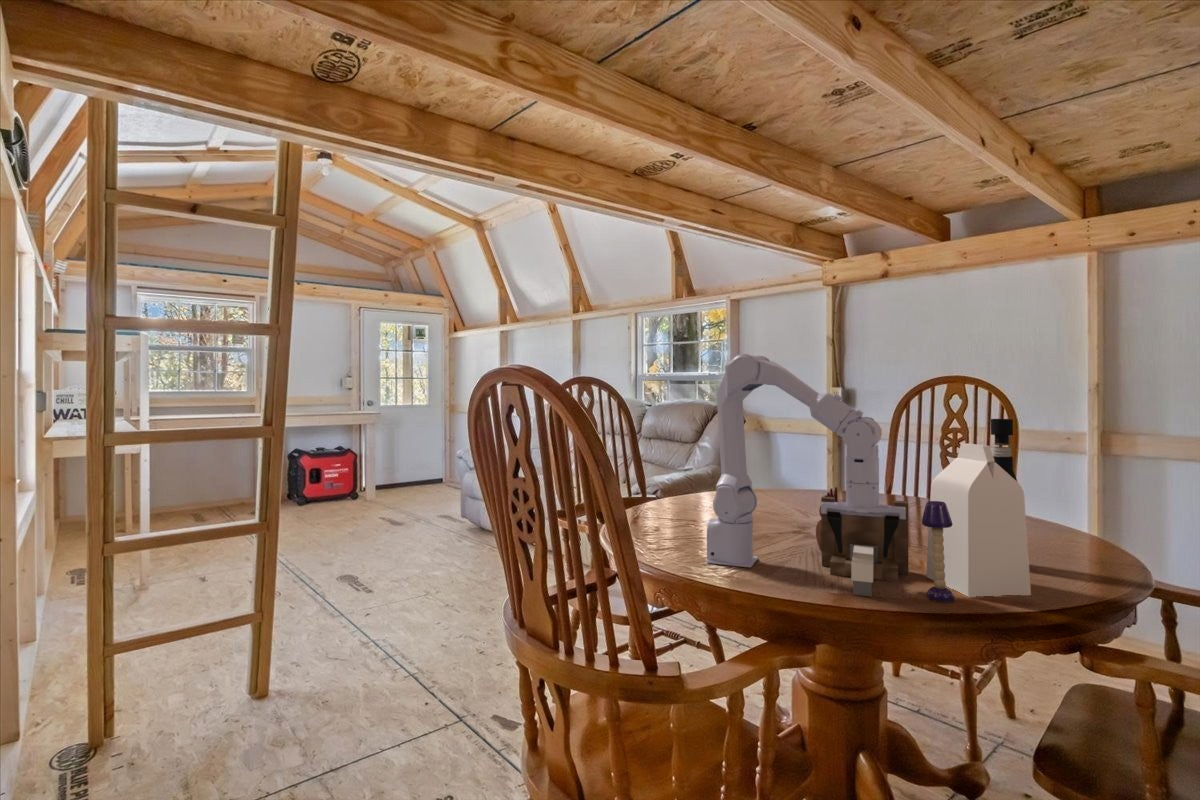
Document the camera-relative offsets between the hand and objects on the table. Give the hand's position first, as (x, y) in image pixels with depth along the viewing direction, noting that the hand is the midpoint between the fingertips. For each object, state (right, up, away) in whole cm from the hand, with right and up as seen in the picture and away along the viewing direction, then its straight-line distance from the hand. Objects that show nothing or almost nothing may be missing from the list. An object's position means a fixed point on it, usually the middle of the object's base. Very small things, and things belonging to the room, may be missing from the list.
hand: (862, 554), depth 114 cm
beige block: (0, -5, -1) cm, 5 cm away
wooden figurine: (+2, -5, +21) cm, 22 cm away
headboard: (+3, -5, +7) cm, 9 cm away
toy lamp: (+9, -6, -9) cm, 14 cm away
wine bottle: (+34, -5, +11) cm, 36 cm away
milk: (+20, -5, -2) cm, 21 cm away
